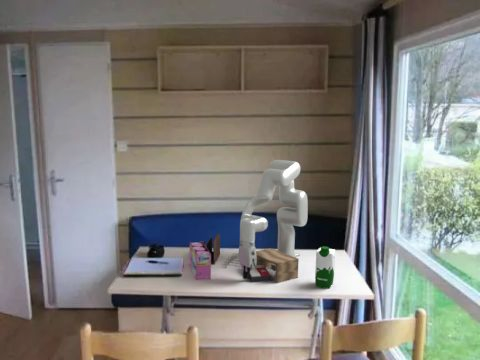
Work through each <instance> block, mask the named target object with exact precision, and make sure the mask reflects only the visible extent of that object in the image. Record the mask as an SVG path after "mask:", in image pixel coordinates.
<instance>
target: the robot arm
mask: <svg viewBox="0 0 480 360" xmlns="http://www.w3.org/2000/svg"><path fill="white" fill-rule="evenodd" d="M300 173H301V165H300V164H299V162H297V161H294V160H293V161H292V160H285V159H284V160H283V159H274V160H272V161H270V163H269V168H267V169H265V170H264V171H263V173H262V175H261V179H260V182H259V186H258V189H257V191H256V194H255V196H254V197H252V198H251V199H250V200H249V201H248V202H247V203H246V204H245V206H244V208H243V210H242V213H241V217H240V222H239V248H238V252H237V253H238V254H237V255H238V257H237V258H238V259H237V260H238V261H237V262H238V263H239V265H240V266H241V268H242V269H241V270H242V271H243V272H242V279H244V280H249V278H250V271H251V270H254V266H256V265H257V256H256V251H257V248H256V245H255V244H256V243H255V242H256V241H255V240H256V233H260V232H264V231H265V230H267V228H268V226H269V221H268V220H267V218H265V217H263V216H259V215H254V214H253V212H254V210H255V209H256V208H257V207H259V206H261V205H264V204H267V203H269V202H271V201H272V200H273V197H274V195H275V191H276V188H277V186H278V190H279V191H278V197H279V198H278V199H279V203H280V204H281V205H283V206H282V207H280V208H278V210H277V211H276V221H277V232H278V233H277V251H280V252H282V253H285V254H287V255H290V256H293V257H295V258H298V257H301V254H300V252H295V239H296V238H295V237H296V232H295V231H296V230H295V228H294V226H295V227H304V226H306V225H307V222H308V219H309V218H308V209H309V207H308V205H309V204H308V203H309V201H308V194H307V193H306V192H305V191H304V190H301V189H300V190H299V189H296V188H295V179H296V178H297V177H298V176H299V175H300Z"/></svg>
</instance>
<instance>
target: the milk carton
mask: <svg viewBox="0 0 480 360" xmlns="http://www.w3.org/2000/svg"><path fill="white" fill-rule="evenodd" d="M335 263H336V249H335V248H334V249H333V248H330V247H329V246H325V245H324V246H320V247H319V248H318V249H317V250H316V254H315V272H314V273H315V274H314V275H315V277H314V279H315V280H314V281H315V282H314V283H315V287H316V288H317V287H318V288H321V289H322V288H325V289H329V290H330V288H331V287H332V286H331V285H334V278H335V277H334V276H335Z"/></svg>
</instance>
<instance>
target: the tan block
mask: <svg viewBox="0 0 480 360" xmlns="http://www.w3.org/2000/svg"><path fill="white" fill-rule="evenodd" d="M256 256H257V265H264V267H265V268H266V269H268V268H271V269H272V270H275V272H274V273H275V276H274V277H275V279H274V280H275V281H274V282H275V284H279V283H283V282H287V281H291V280H296V279H297V278H299V258H298V257H293V256H290V255H287V254H285V253H282V252H280V251H278V249H274V248H272V247H269V248H265V249H261V250H260V249H259V250H256Z"/></svg>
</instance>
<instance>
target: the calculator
mask: <svg viewBox="0 0 480 360" xmlns="http://www.w3.org/2000/svg"><path fill="white" fill-rule="evenodd" d="M272 276H273V275H272V274H271V273H270V272H269V271H268V268H265V267H264V265H256V266H254V270H251V271H250V278H249V279H248V280H249V282H250V283H258V282H260V283H261V282H270V281H272V279H273V278H272Z"/></svg>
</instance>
